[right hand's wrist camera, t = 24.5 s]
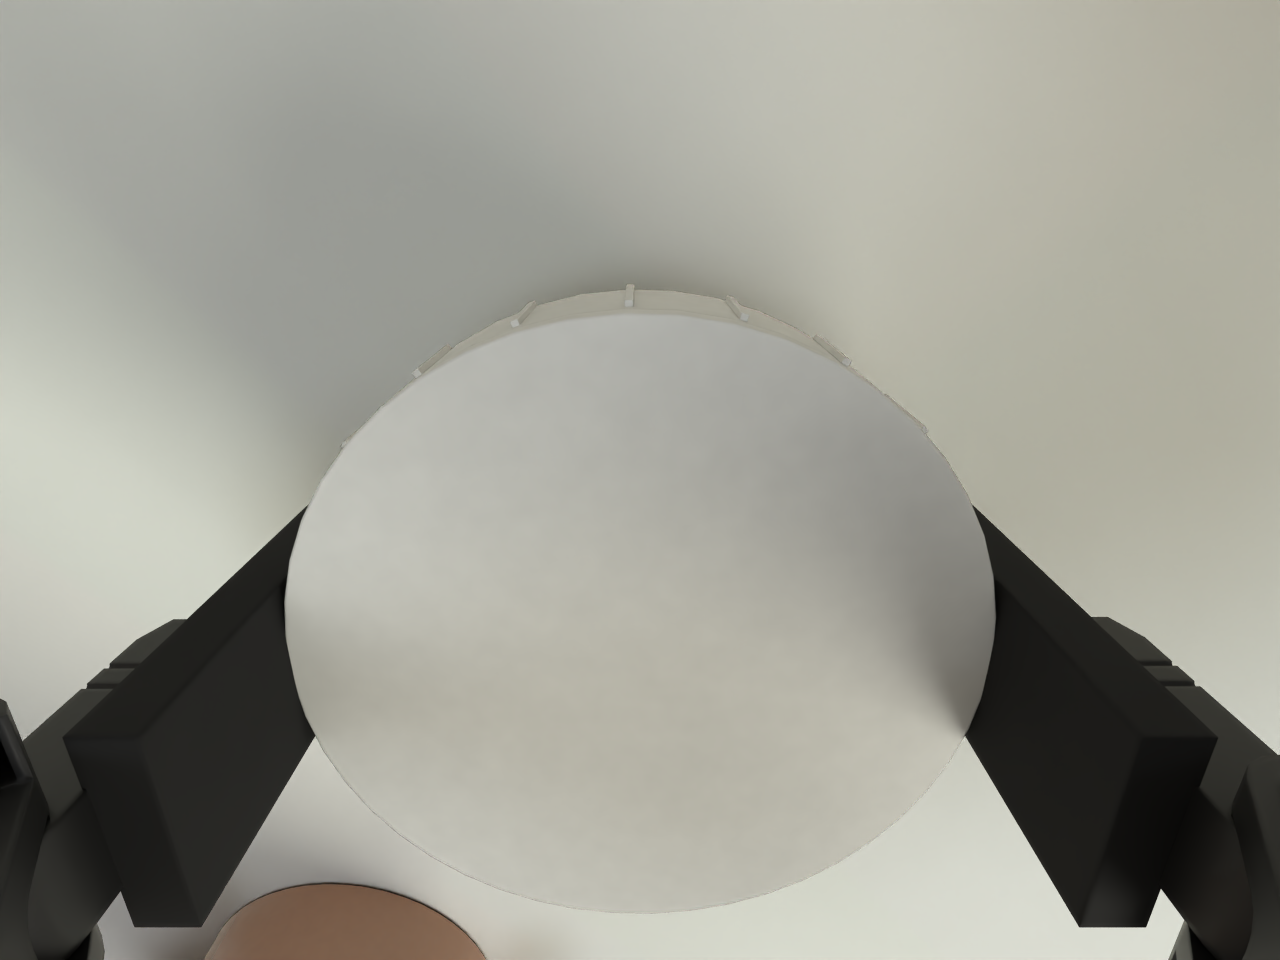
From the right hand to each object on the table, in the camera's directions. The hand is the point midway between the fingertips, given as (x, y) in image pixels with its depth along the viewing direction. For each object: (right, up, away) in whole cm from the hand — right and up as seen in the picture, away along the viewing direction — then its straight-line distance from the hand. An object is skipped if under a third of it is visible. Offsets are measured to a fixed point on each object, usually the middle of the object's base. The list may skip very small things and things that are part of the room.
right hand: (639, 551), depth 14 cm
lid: (0, -1, -3) cm, 3 cm away
